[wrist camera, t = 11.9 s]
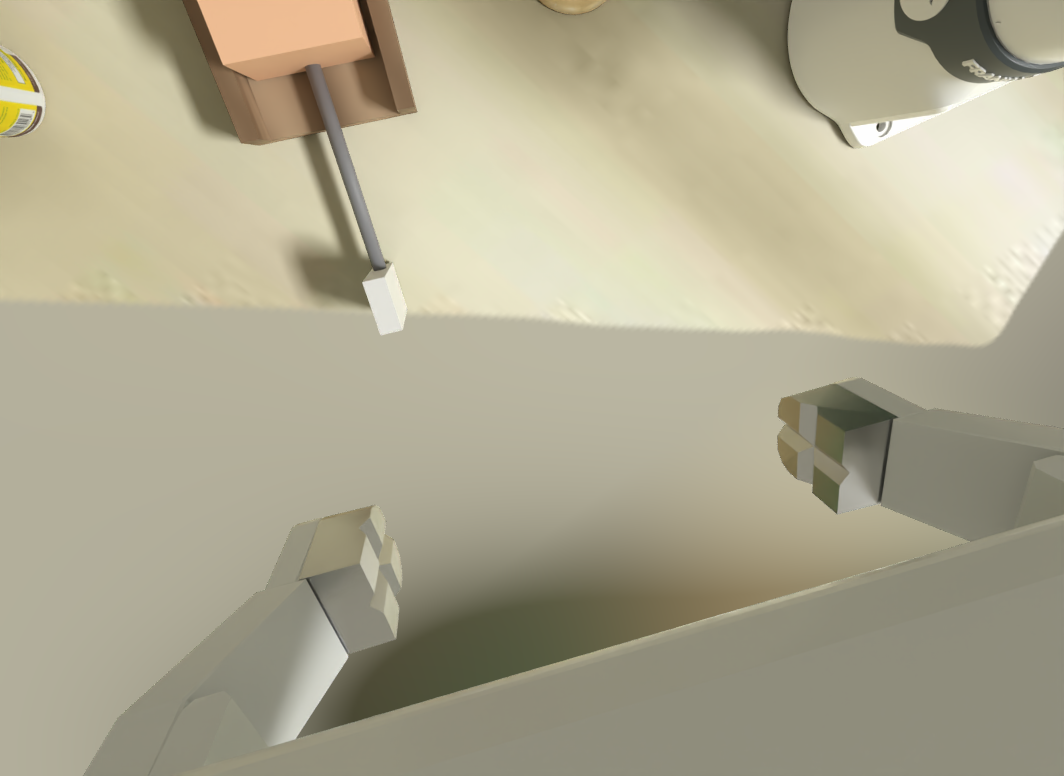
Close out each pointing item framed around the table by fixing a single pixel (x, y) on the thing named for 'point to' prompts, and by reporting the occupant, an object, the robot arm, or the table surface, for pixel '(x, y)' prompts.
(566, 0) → the hand bell
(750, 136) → the table surface
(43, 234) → the table surface
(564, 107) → the table surface
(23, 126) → the supplement bottle
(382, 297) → the pull block
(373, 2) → the shelf lane
